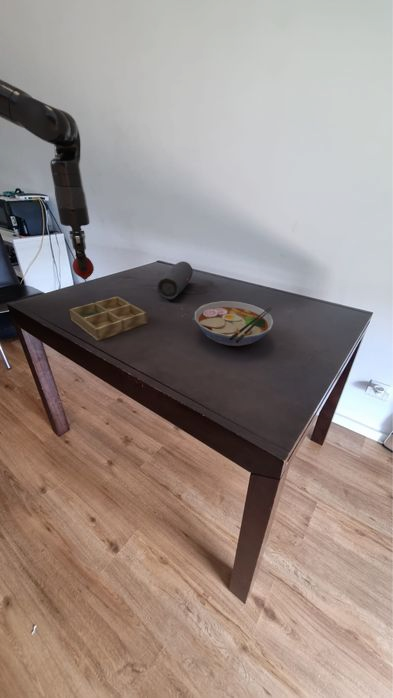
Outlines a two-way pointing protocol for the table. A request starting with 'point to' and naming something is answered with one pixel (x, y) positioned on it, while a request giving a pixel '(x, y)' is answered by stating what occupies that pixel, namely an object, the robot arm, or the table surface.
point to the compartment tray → (108, 317)
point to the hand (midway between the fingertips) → (83, 267)
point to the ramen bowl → (233, 322)
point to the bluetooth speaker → (175, 280)
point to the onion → (86, 273)
